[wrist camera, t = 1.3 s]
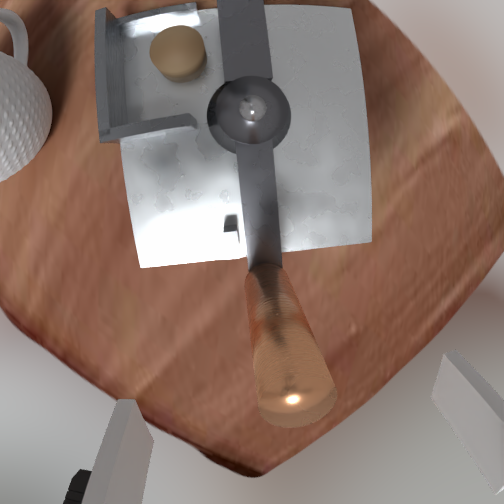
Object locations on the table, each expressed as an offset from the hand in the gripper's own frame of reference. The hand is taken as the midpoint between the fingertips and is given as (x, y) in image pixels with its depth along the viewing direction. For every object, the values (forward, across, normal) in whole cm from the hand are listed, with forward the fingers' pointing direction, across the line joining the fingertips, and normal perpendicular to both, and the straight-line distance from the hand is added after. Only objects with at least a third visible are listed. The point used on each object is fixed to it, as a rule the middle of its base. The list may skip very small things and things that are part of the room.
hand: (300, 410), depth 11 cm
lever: (+14, 0, +10) cm, 17 cm away
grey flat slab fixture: (+16, 0, +12) cm, 21 cm away
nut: (+14, -4, +18) cm, 23 cm away
